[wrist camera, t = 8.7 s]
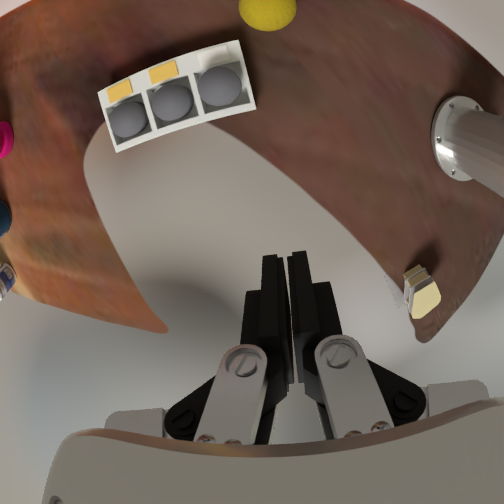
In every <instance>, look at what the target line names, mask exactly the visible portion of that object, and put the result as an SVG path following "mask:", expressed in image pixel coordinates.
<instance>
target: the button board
mask: <svg viewBox="0 0 504 504" xmlns="http://www.w3.org/2000/svg"><path fill="white" fill-rule="evenodd" d="M219 66H220V67H227V68H229V69H231V70H233V71H234V72H235V73H236V74H237V75H238V77H239V78H240V80H241V83H242V90H241V93H240V95H239V97H238V98H237V99H236V100H235V101H234V102H232V103H230V104H227V105H222V106H214V105H210V104H208V103H206V102H205V101H203V99H202V98H201V97H200V95H199V93H198V81H199V79H200V77H201V76H202V74H203V73H204V72H205V71H207V70H208V69H210V68H213V67H219ZM167 84H177V85H183V86H185V87H187V88H188V89H190V90H191V92H192V94H193V96H194V105H193V107H192V109H191V111H190V112H189V113H188V114H187V115H186V116H184V117H182V118H179V119H175V120H171V121H166V120H162V119H160V118H158V117H157V116H156V115H155V113H154V112H153V109H152V98H153V96H154V94H155V92H156V91H157V90H158V89H159V88H160V87H162V86H164V85H167ZM98 95H99V99H100V103H101V106H102V110H103V113H104V117H105V120H106V123H107V126H108V129H109V133H110V136H111V139H112V142H113V145H114V148H115V151H116V153H117V152H120V151H122V150H124V149H127V148H129V147H132V146H134V145H137V144H140V143H142V142H145V141H147V140H150V139H153V138H156V137H158V136H161V135H164V134H167V133H170V132H173V131H176V130H179V129H182V128H186V127H189V126H192V125H195V124H199V123H202V122H206V121H210V120H213V119H217V118H221V117H225V116H229V115H233V114H237V113H242V112H246V111H251V110H255V109H256V105H255V101H254V97H253V93H252V89H251V85H250V81H249V77H248V73H247V69H246V66H245V62H244V58H243V54H242V51H241V47H240V44H239V40H234V41H230V42H226V43H222V44H218V45H214V46H210V47H207V48H203V49H200V50H197V51H193V52H190V53H187V54H184V55H181V56H178V57H175V58H173V59H170V60H167V61H165V62H162V63H159V64H157V65H154V66H152V67H149V68H147V69H145V70H142V71H140V72H138V73H135V74H133V75H131V76H129V77H127V78H125V79H123V80H120V81H118V82H116V83H114V84H112V85H111V86H109V87H107V88H105V89H103V90H101V91H99V92H98ZM134 101H138V102H141V103H143V104H144V105H145V108H146V111H147V115H148V118H149V123H148V125H147V127H146V128H145V129H144V130H143V131H142V132H140V133H137V134H135V135H132V136H130V137H119V136H117V135H116V134H115V133H114V132H113V131H112V129H111V127H110V116H111V113H112V111H113V110H114V108H115V107H116V106H118V105H119V104H121V103H125V102H134Z"/></svg>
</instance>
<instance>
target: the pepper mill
mask: <svg viewBox="0 0 504 504" xmlns="http://www.w3.org/2000/svg"><path fill="white" fill-rule="evenodd" d="M12 146H13V131H12V128H11V126H10V124H9V123H8V122H6V121H2V122H0V158H3V157H5V156H7V155H8V154H9V153H10V151H11V149H12Z"/></svg>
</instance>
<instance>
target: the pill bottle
mask: <svg viewBox="0 0 504 504" xmlns="http://www.w3.org/2000/svg"><path fill="white" fill-rule="evenodd" d="M16 280H17V278H16V274H15V272H14V270H13V269H12V267H11V266H10V265H8V264H7V263H3V264H2V265H1V266H0V301H1V300H2V298H3V297H4V296H5V294H6V293H7V292H8V291H9V290H10V288H11V287H12V286H13V285H14V283H15V282H16Z"/></svg>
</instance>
